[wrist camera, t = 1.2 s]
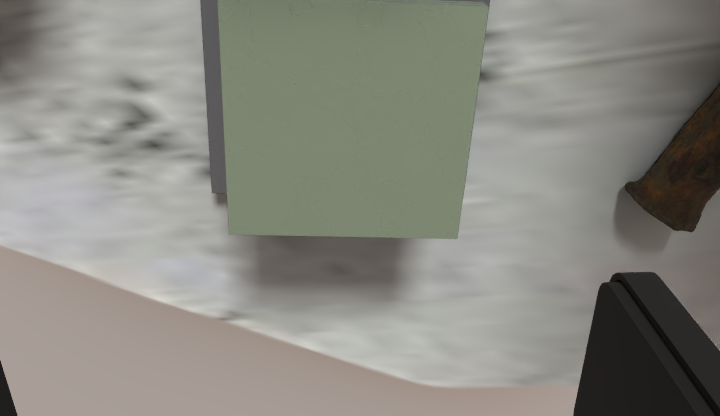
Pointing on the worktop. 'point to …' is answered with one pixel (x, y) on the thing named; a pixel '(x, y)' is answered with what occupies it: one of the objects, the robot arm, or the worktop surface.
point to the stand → (342, 113)
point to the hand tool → (684, 171)
